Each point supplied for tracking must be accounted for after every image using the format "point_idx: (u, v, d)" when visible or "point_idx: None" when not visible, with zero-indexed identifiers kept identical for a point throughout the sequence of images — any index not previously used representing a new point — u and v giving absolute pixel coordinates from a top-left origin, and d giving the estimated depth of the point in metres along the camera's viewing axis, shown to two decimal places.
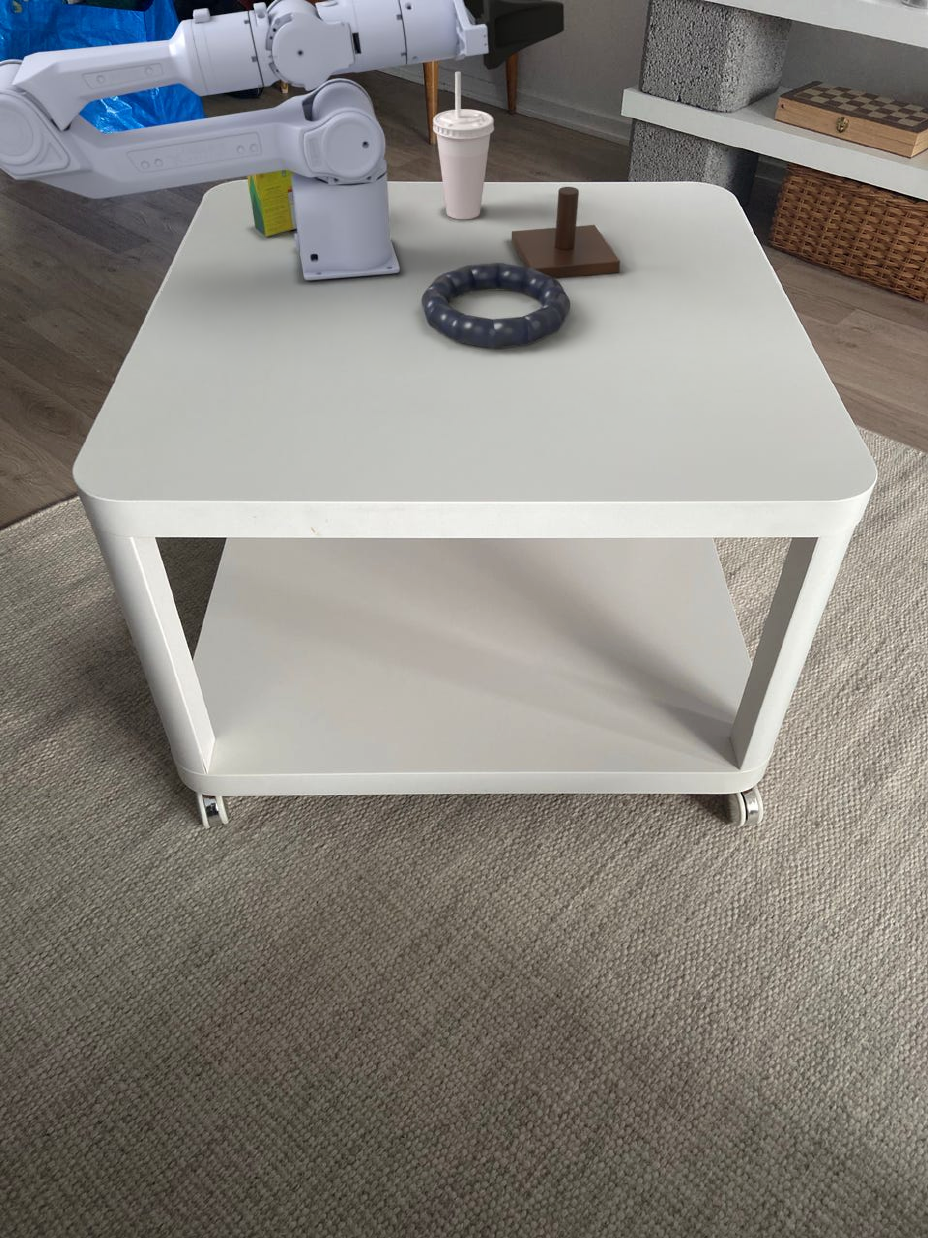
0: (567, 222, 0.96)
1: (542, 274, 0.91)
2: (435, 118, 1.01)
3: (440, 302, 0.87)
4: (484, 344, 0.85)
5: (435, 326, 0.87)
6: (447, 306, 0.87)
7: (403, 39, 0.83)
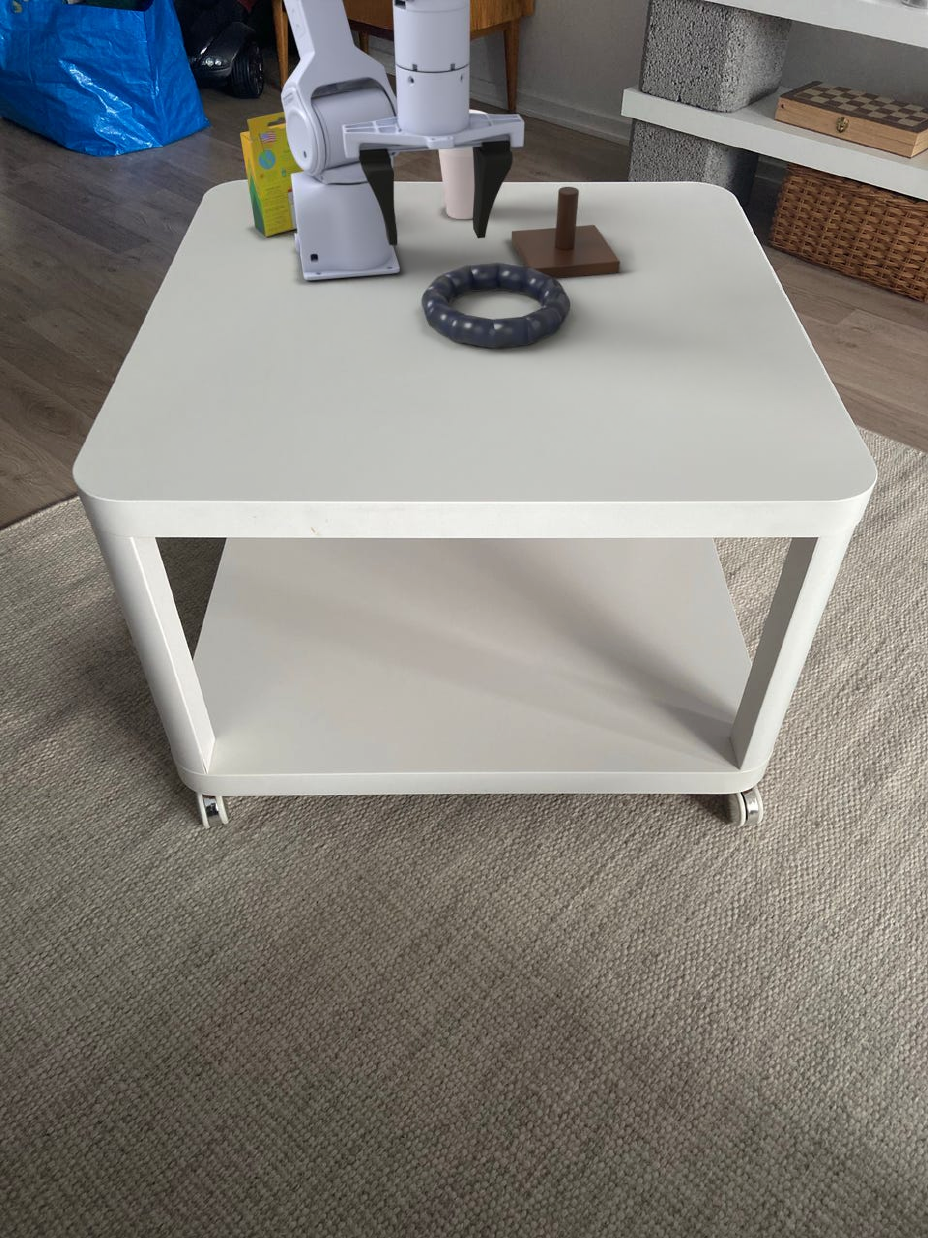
0: (567, 222, 0.96)
1: (542, 274, 0.91)
2: None
3: (440, 302, 0.87)
4: (484, 344, 0.85)
5: (435, 326, 0.87)
6: (447, 306, 0.87)
7: (399, 64, 0.73)
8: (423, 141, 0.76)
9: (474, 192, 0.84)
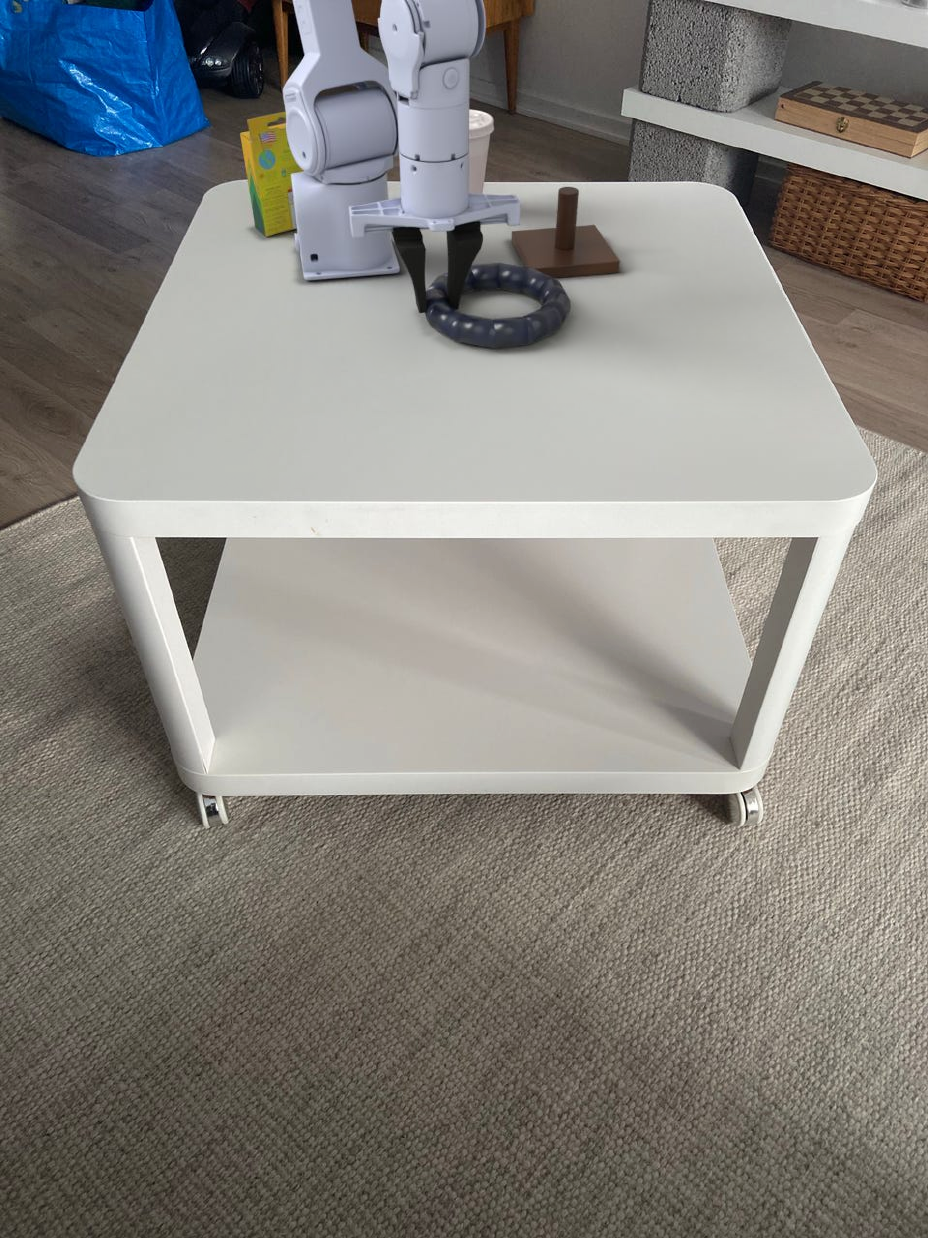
0: (567, 222, 0.96)
1: (542, 274, 0.91)
2: None
3: (440, 302, 0.87)
4: (484, 344, 0.85)
5: (435, 326, 0.87)
6: (447, 306, 0.87)
7: (402, 153, 0.78)
8: (425, 223, 0.80)
9: (448, 266, 0.88)
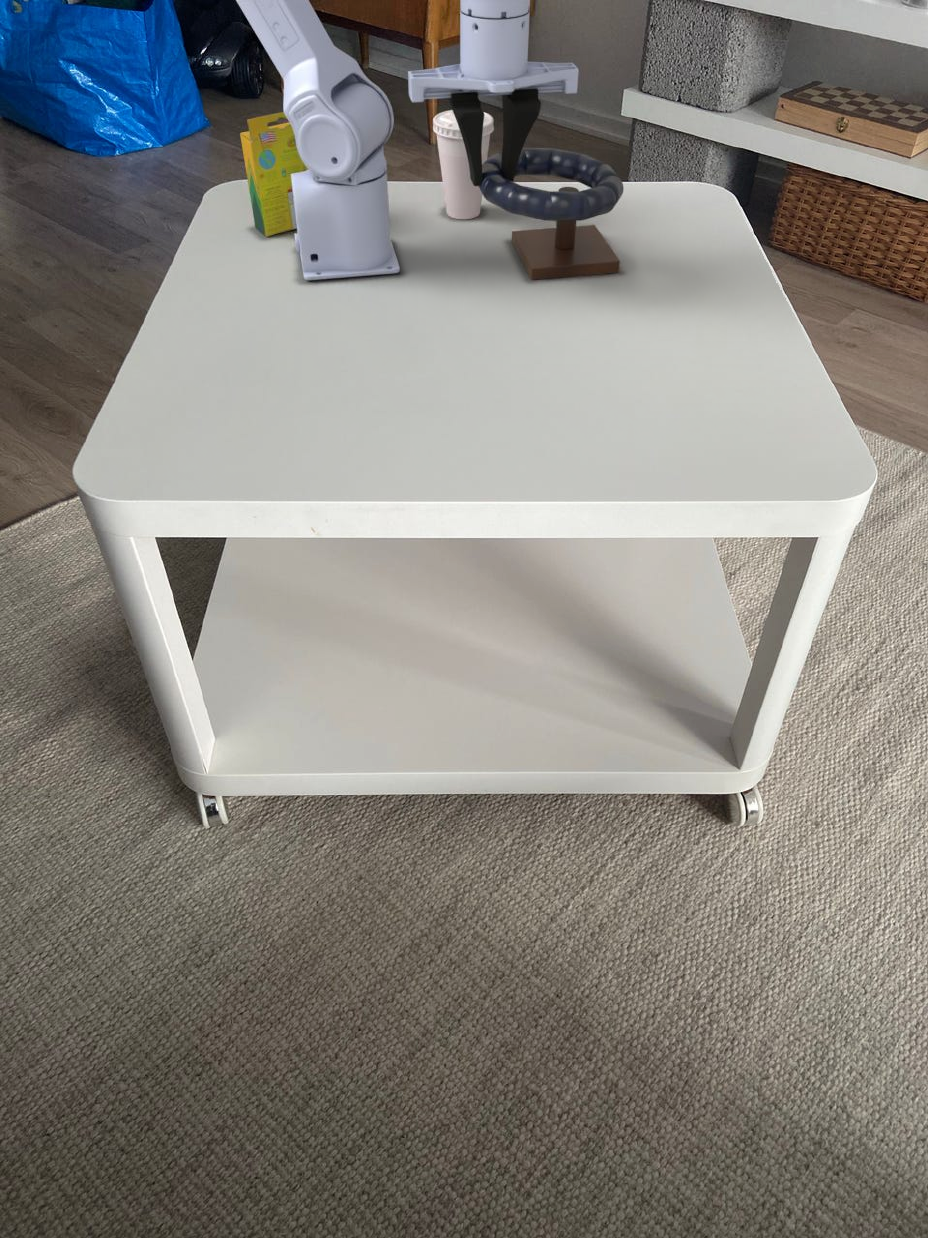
0: (567, 222, 0.96)
1: (595, 160, 0.92)
2: (435, 118, 1.01)
3: (496, 174, 0.88)
4: (539, 215, 0.86)
5: (490, 197, 0.87)
6: None
7: (483, 15, 0.78)
8: (485, 85, 0.81)
9: (503, 140, 0.88)
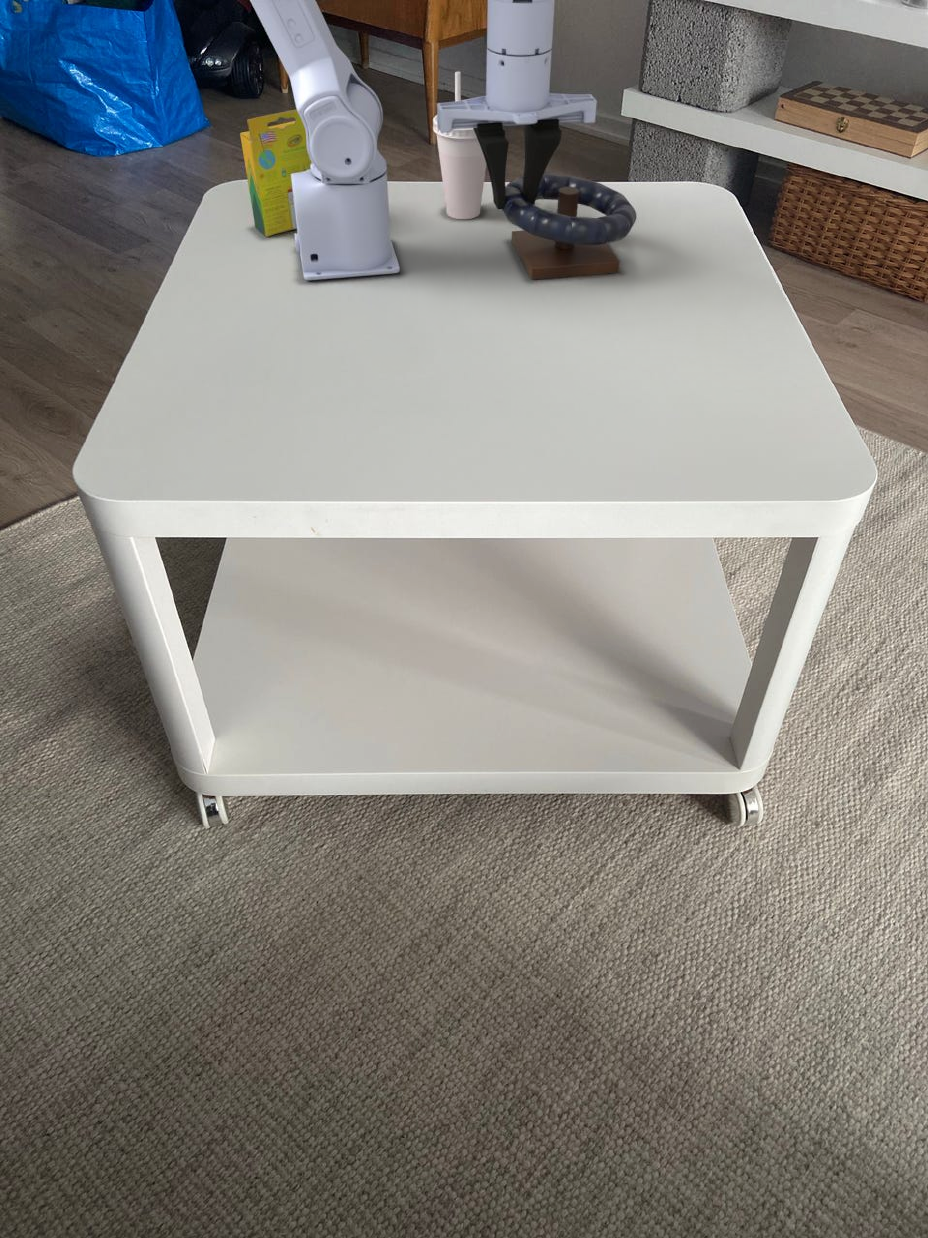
0: None
1: (610, 188, 0.98)
2: (435, 118, 1.01)
3: (519, 197, 0.93)
4: (559, 238, 0.91)
5: (513, 218, 0.93)
6: (526, 201, 0.93)
7: (518, 53, 0.83)
8: (510, 117, 0.86)
9: None
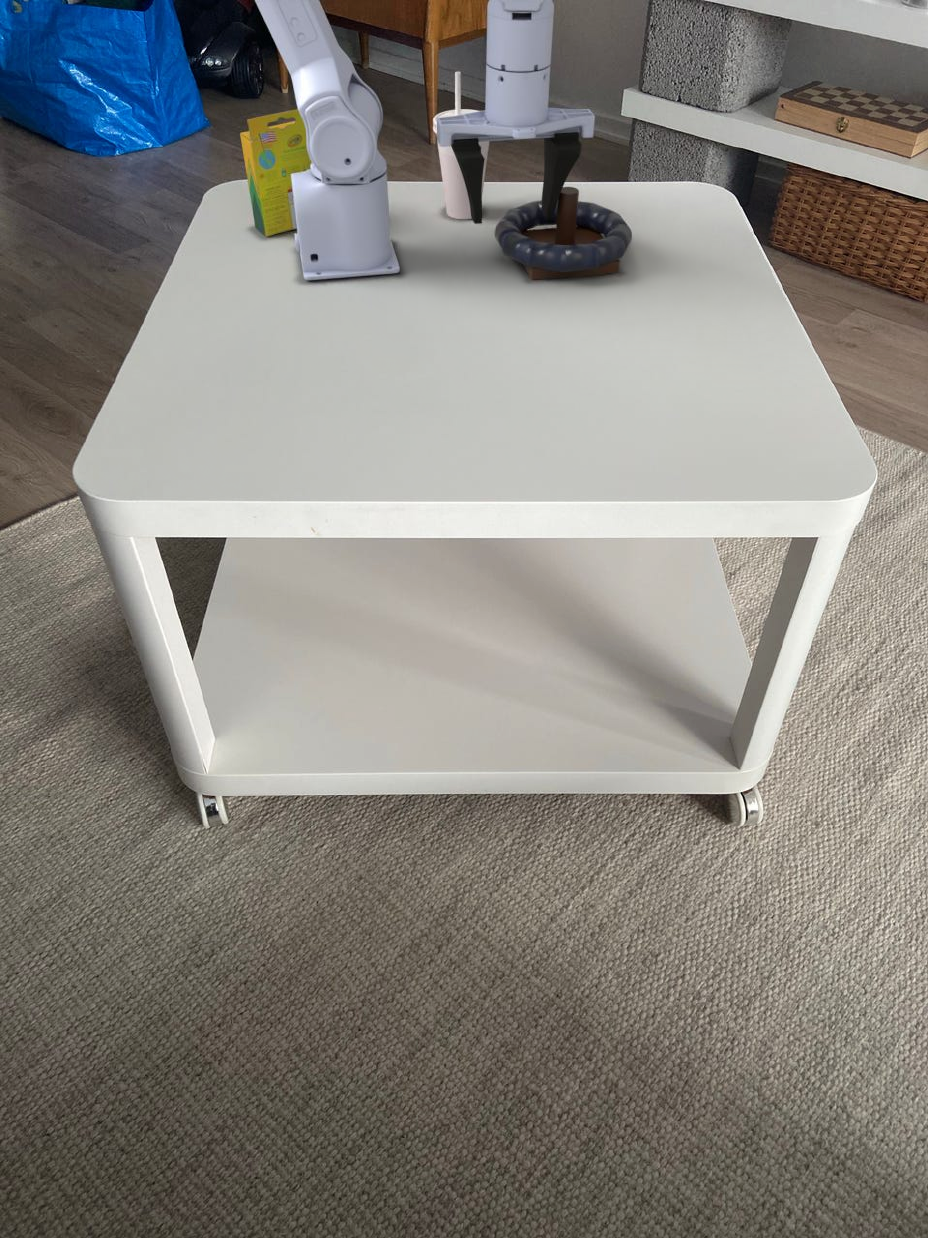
0: (567, 222, 0.96)
1: (604, 208, 0.99)
2: (435, 118, 1.01)
3: (514, 231, 0.95)
4: (555, 268, 0.93)
5: (509, 253, 0.95)
6: (520, 234, 0.95)
7: (517, 69, 0.84)
8: (509, 132, 0.87)
9: (544, 178, 0.95)
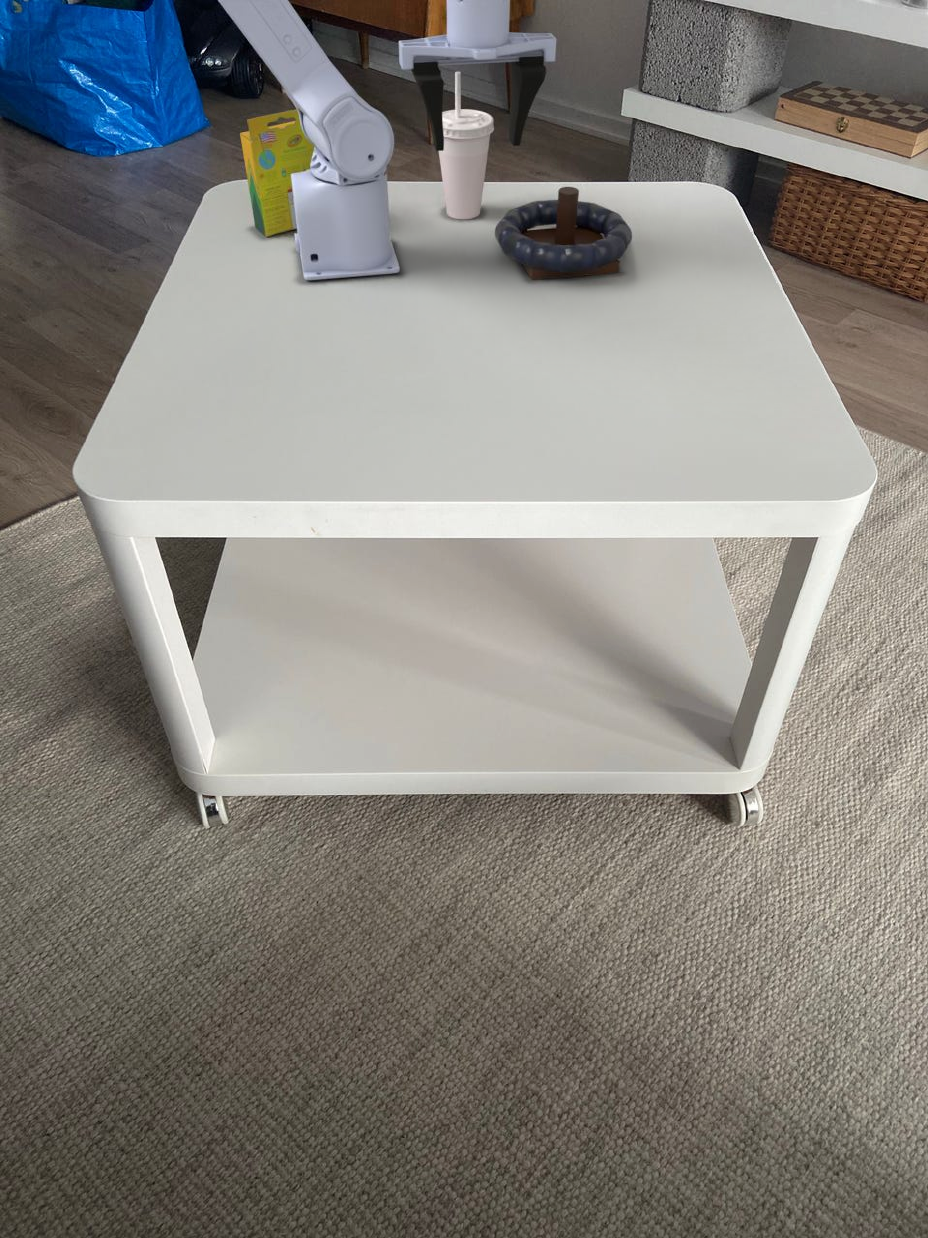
0: (567, 222, 0.96)
1: (604, 208, 0.99)
2: None
3: (514, 231, 0.95)
4: (555, 268, 0.93)
5: (509, 253, 0.95)
6: (520, 234, 0.95)
7: None
8: (469, 53, 0.88)
9: None
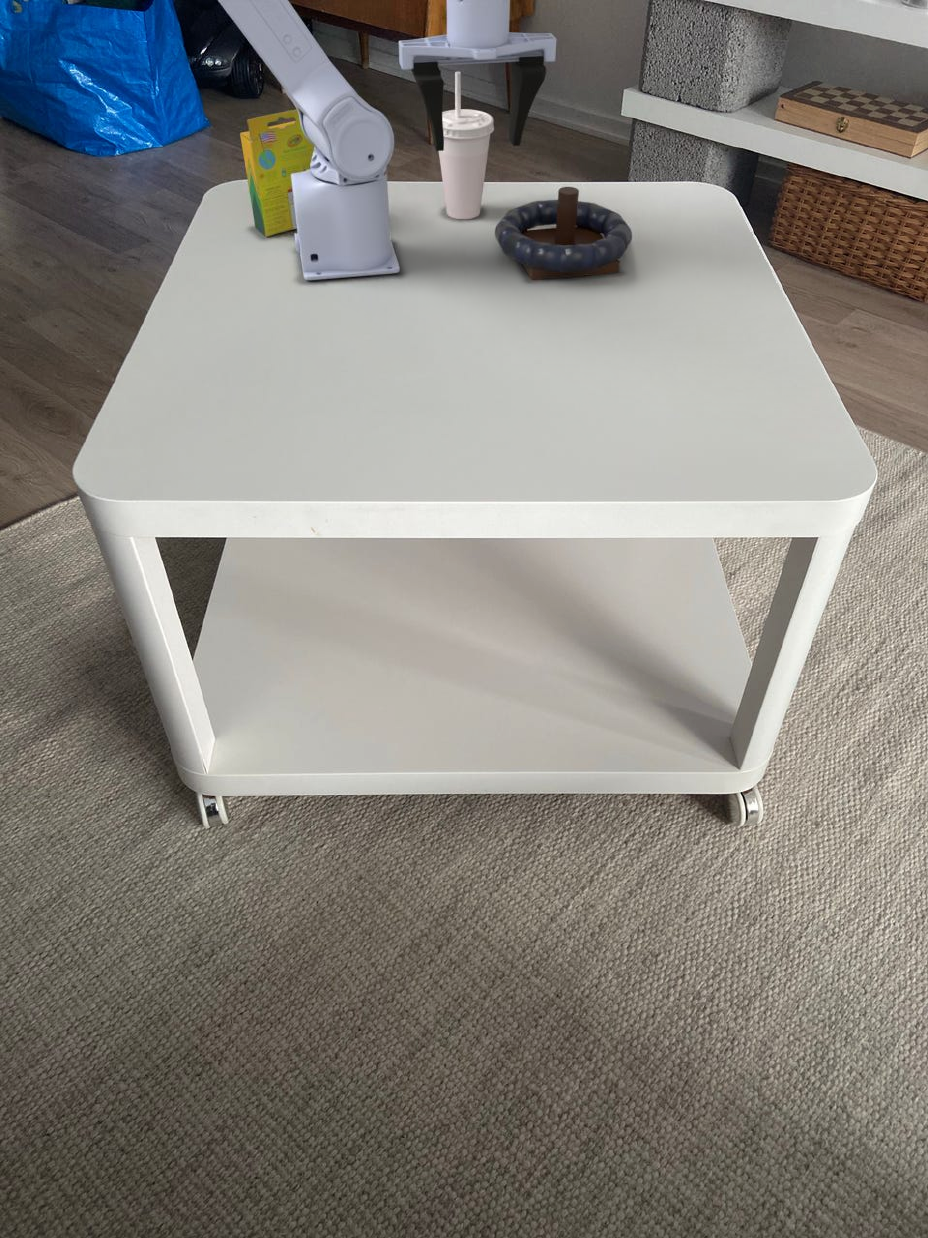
0: (567, 222, 0.96)
1: (604, 208, 0.99)
2: None
3: (514, 231, 0.95)
4: (555, 268, 0.93)
5: (509, 253, 0.95)
6: (520, 234, 0.95)
7: None
8: (469, 53, 0.88)
9: None
